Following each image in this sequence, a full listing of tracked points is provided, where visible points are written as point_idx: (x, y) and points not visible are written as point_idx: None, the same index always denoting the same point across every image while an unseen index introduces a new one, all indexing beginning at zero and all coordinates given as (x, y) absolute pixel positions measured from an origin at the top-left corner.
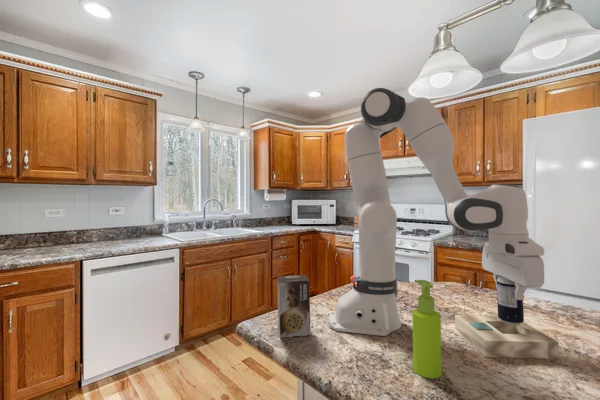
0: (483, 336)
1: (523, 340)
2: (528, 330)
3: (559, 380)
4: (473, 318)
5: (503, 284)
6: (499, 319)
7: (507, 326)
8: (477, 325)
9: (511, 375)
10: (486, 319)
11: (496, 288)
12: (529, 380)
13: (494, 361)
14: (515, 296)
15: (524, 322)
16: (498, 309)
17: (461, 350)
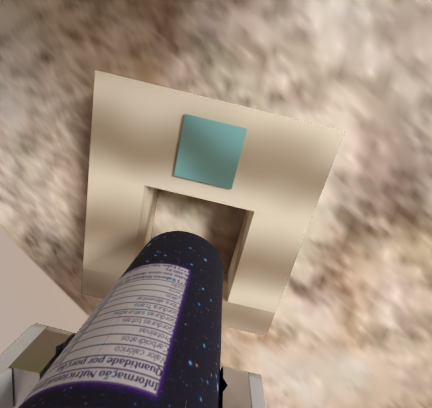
0: (129, 92)
1: (94, 210)
2: None
3: (20, 183)
4: (286, 184)
5: (49, 403)
6: (253, 270)
7: (233, 272)
8: (214, 139)
9: (32, 80)
10: (264, 226)
11: (259, 378)
12: (13, 110)
13: None
14: (33, 337)
15: None
16: (189, 251)
17: (169, 28)
